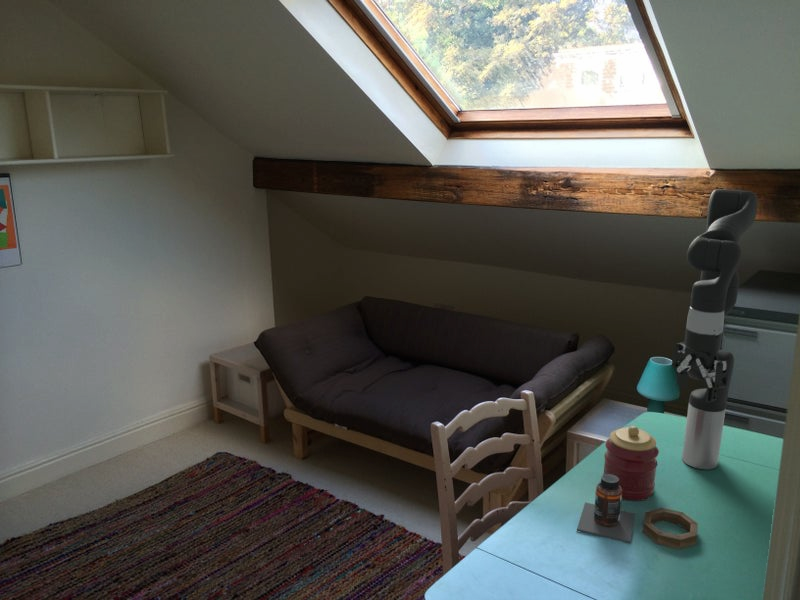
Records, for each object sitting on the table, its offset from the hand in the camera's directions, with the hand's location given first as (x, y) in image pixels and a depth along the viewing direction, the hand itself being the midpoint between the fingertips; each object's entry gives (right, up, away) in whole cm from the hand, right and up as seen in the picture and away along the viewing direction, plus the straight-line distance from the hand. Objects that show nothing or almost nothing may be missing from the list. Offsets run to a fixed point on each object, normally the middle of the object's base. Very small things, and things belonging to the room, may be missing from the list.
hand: (695, 394), depth 159 cm
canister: (-9, -27, +21) cm, 36 cm away
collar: (-5, -33, +3) cm, 33 cm away
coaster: (-19, -32, +6) cm, 37 cm away
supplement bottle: (-19, -31, +7) cm, 37 cm away
